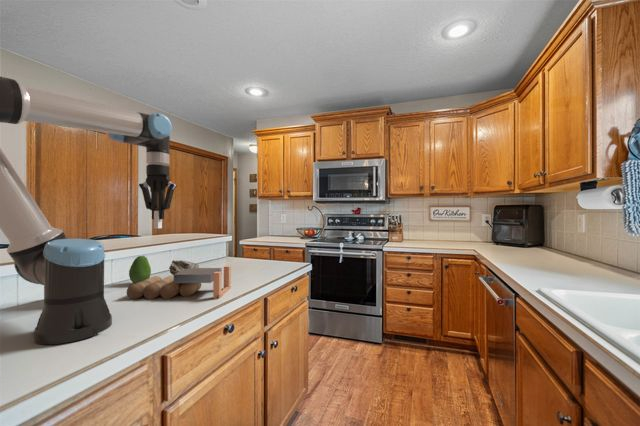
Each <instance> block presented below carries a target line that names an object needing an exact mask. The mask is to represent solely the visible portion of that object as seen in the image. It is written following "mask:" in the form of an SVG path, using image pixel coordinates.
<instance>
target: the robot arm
mask: <svg viewBox="0 0 640 426" xmlns="http://www.w3.org/2000/svg"><path fill="white" fill-rule="evenodd" d="M23 122H29V123H37V124H44V125H50V126H58V127H65V128H71V129H72V128H73V129H80V130H85V131H86V130H88V131H92V132H100V133H107V135H108V137H109V138H110V139H111V140H113V141H115V142H120V143H122V144H128V145H133V146H134V145H135V146H138V147H143V148H144V147H145V149H146V151H145V152H146V154H145V155H146V157H145V158H146V160H145V161H146V164H147V165H146V169H145V172H146V178H145V181H143V182H142V183H139V184H138V186H139V188H140V189H141V192H142V196H143V200H144V204H145V208H146V210H150V211H151V220H153V229H163V220H164V219H165V211H166V210H169V209H170V208H171V203H172V199H173V195H174V192H175V189H177V184H176V183H174V182H171V179H170V167H169V166H170V146H171V145H170V140H171V136H170V135H171V134H172V132H173V125H172V122H171V120H170V119H169V118H168V116H166V115H165V114H164V113H159V112H154V113H151V114H148V113H147V114H146V113H144V112H139V111H132V110H129V109H125V108H120V107H115V106H111V105H106V104H102V103H97V102H92V101H90V100H89V101H88V100H85V99H84V100H83V99H81V98H77V97H76V98H75V97H73V96H72V97H71V96H66V95H62V94H59V93H58V94H57V93H54V92H48V91H45V90H40V89H36V88H31V87H27V86H23V85H22V83H20V82H19V81H18V80H16V79H13V78H9V77H5V76H0V123H4V124H12V125H13V124H14V125H20V124H21V123H23ZM20 177H21V176H19V174H18V173H17V172H16V170H15V168H14V167H13V165H12V164H11V161H10V160H9V159H8V158H7V156H6V154H5V153H4V151H3V150H2V149H1V147H0V231H1V232H2V233H3V234H4V237H6V238H7V240H8V241H9V245H8V247H7V249H6V252H7V253H8V255H9V256H10V258H11V259H12V260H13V262H14V264H13V265H14V266H13V267H14V269H15V271H16V273H17V274H18V276H20V277H21V278H22V279H23V280H24V281H26V282H28V283H32V284H35V285H41V286H43V308H42V311H41V313H40V315H39V318H38V320H37V323H36V324H37V325H36V326H35V328H34V329H33V342H34V343H35V344H38V345H58V344H66V343H72V342H76V341H81V340H84V339H88V338H91V337H94V336H97V335H98V334H100V333H102V332H104V331H106V330H107V329H109V328H110V327H111V326H112V325H113V316H112V313H111V312H110V310H109V309H110V308H109V306H108V304H107V301H106V299H105V259H106V258H105V257H106V254H105V248H104V244H103V243H102V242H101V241H99V240H96V239H90V238H68V237H67V236H66V234H65V232H64V231H63V229H61V228H56V227H53V226H52V225H51V223H50V222H49V221H48V219H47V218H46V216H45V215H44V213H43V211H42V209H41V208H40V207H39V205H38V203H37V202H36V201H35V198H33V195H32V194H31V193H30V191H29V190H28V188H27V187H26V185H25V184H24V182H23V181H22V179H21V178H20ZM149 188H150V190H149ZM166 188H167V190H166Z"/></svg>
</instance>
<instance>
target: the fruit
mask: <svg viewBox="0 0 640 426" xmlns="http://www.w3.org/2000/svg"><path fill="white" fill-rule="evenodd" d="M151 275H152V268H151V265H150V263H149V260H148V258H147V257H146V256H144V255H139V256H137V257H136V258H135V259H134V260H133V262H132V264H131V266H130V268H129V269H128V277H129V279H130V281H131V282H132V284H133V285H134V284H136V283H139V282H141V281H144V280H146V279H149V278H151Z"/></svg>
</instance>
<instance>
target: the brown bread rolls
mask: <svg viewBox="0 0 640 426" xmlns="http://www.w3.org/2000/svg"><path fill="white" fill-rule="evenodd" d="M184 284H185V283H174V276H173V275H168V276H166V277H164V278H162V277H161V276H158V275H155V276H150V278H149V279H146V280H144V281H141V282H139V283H136V284H134V283H133V284H131V285H130V286H128V287H127V289H126V295H127V297H128V299H131V300H136V299H139V298H141V297H145V298H146V299H148V300H153V299H156V298H158V297H159V296H161V297H162V298H163V299H164V300H165V299H166V300H169V299H171V298H174V297H175V296H177V295H178V294H180V287H181V286H182V285H184Z"/></svg>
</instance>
